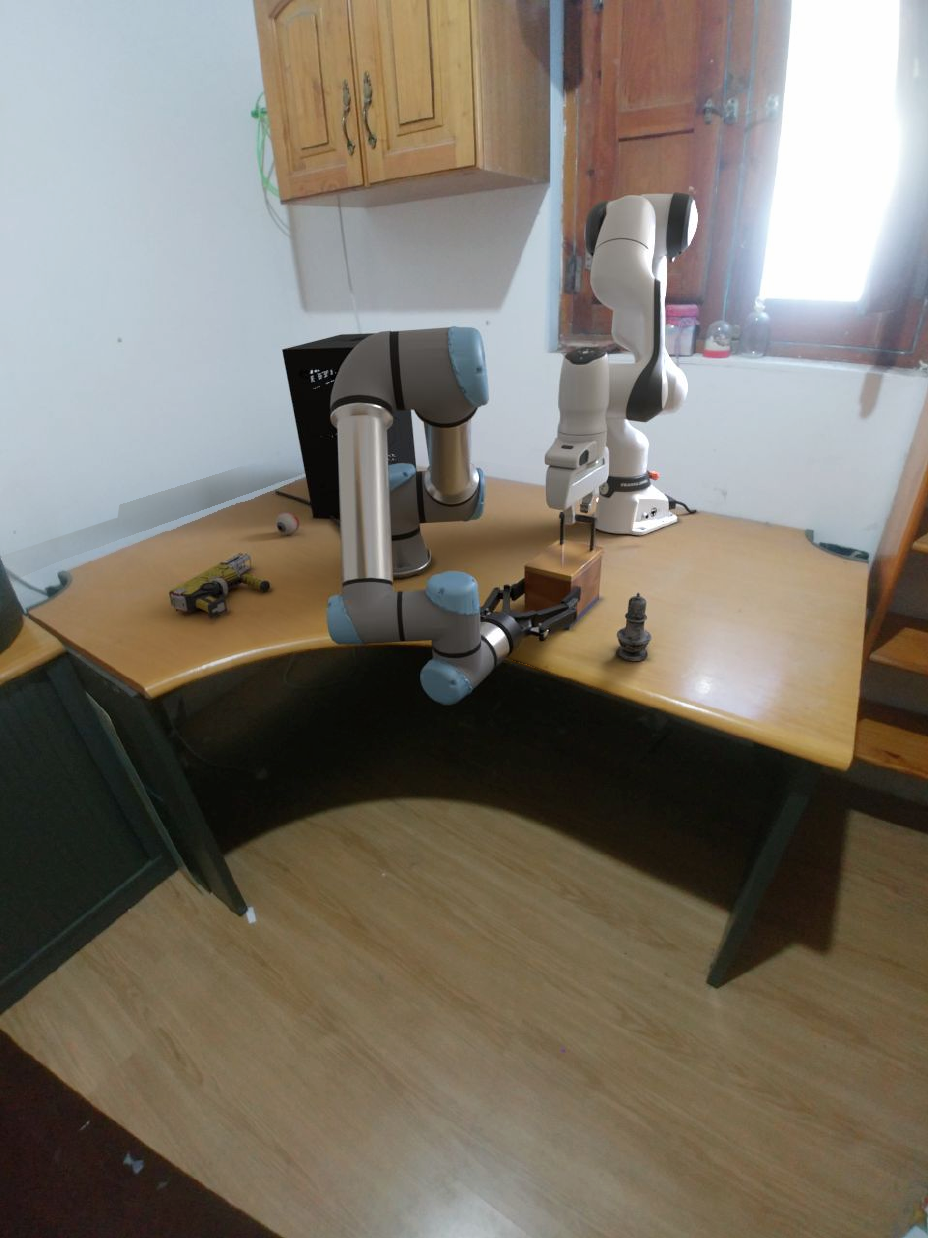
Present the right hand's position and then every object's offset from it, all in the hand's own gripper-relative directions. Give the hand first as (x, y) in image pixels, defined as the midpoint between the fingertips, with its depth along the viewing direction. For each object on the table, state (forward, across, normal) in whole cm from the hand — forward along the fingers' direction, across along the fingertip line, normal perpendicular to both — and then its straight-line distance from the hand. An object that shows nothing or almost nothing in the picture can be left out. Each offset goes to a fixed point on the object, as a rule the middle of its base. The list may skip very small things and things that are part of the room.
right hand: (578, 517), depth 117 cm
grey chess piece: (+18, +14, +18) cm, 29 cm away
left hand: (+11, +10, 0) cm, 15 cm away
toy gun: (+17, +35, -66) cm, 77 cm away
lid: (+7, +5, 0) cm, 9 cm away
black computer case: (+17, -29, -84) cm, 91 cm away
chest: (+18, +6, 0) cm, 18 cm away
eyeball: (+17, +5, -83) cm, 85 cm away
